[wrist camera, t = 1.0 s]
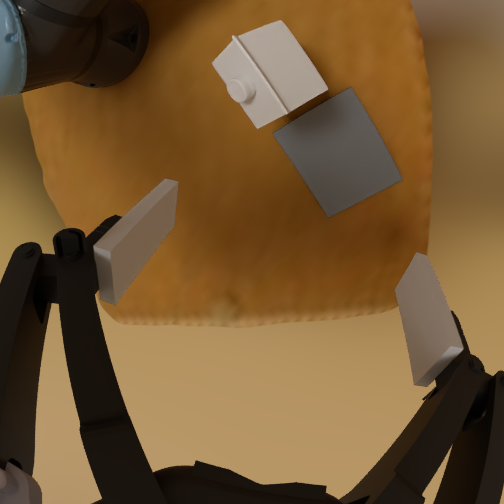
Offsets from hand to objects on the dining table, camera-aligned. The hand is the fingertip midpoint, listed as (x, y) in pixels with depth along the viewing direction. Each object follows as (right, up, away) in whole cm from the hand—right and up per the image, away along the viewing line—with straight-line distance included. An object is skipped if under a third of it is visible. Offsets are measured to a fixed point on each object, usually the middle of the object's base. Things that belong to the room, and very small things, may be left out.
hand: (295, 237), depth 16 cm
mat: (+9, +12, +23) cm, 28 cm away
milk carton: (+2, +22, +19) cm, 29 cm away
